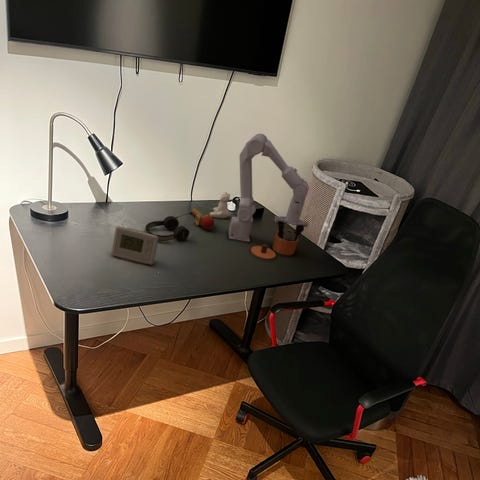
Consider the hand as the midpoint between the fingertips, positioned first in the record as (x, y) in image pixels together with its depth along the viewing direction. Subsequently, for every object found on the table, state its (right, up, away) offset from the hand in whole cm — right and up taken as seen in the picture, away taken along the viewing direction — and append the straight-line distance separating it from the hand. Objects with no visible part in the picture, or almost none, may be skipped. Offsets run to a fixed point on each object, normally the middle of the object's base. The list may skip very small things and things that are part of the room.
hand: (286, 239), depth 207 cm
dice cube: (0, -1, +1) cm, 2 cm away
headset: (-51, 0, -9) cm, 51 cm away
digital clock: (-60, -13, -31) cm, 69 cm away
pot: (-1, -5, +3) cm, 6 cm away
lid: (-10, -7, -5) cm, 13 cm away
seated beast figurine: (-30, +14, +20) cm, 39 cm away
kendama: (-38, +9, +8) cm, 40 cm away
